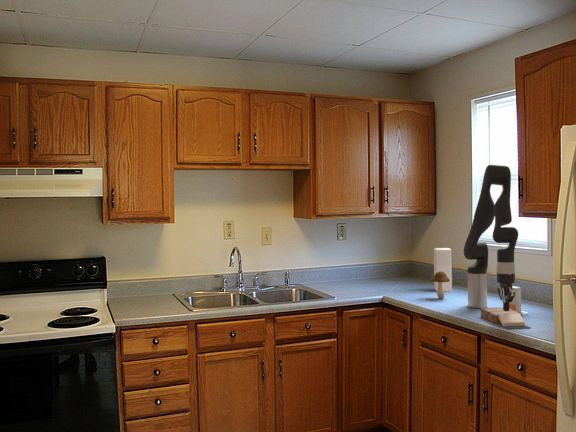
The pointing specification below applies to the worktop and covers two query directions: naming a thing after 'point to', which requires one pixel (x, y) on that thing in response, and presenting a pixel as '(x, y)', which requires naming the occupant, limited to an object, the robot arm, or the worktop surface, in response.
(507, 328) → the mat
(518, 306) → the skincare box
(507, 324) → the cream rectangular block
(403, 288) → the worktop surface
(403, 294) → the worktop surface
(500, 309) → the brown flat block
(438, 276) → the mushroom
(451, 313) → the worktop surface
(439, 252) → the tall white carton
